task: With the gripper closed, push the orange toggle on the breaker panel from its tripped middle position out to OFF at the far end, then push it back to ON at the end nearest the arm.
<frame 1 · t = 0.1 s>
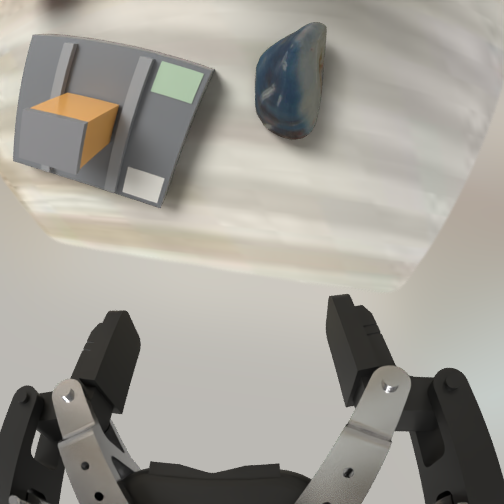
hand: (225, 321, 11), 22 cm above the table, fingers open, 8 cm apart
seashell: (293, 81, 25), on the table
breaker toggle: (69, 127, 20), point 7 cm above the table, slide at 0.0 cm
breaker panel: (101, 109, 25), on the table
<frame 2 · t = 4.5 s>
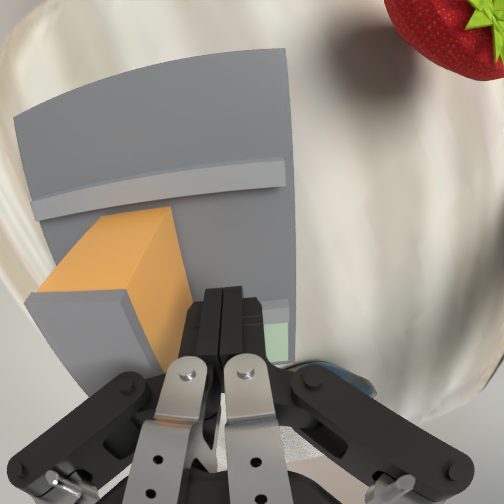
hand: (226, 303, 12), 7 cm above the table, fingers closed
seashell: (305, 377, 27), on the table
breaker toggle: (127, 304, 12), point 7 cm above the table, slide at 0.6 cm, touching gripper
breaker panel: (169, 232, 18), on the table
strawberry: (403, 30, 12), on the table
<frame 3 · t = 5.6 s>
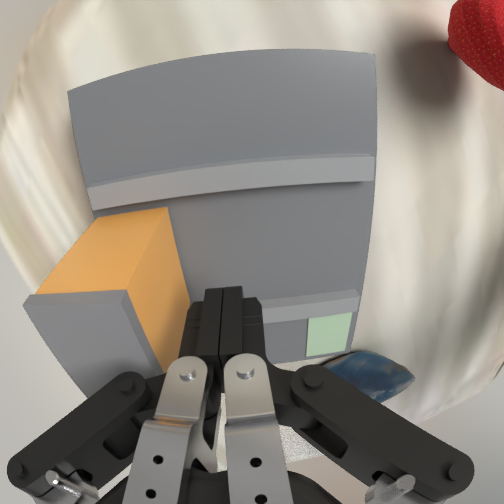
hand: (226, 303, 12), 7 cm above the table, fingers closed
seashell: (344, 368, 27), on the table
breaker toggle: (126, 305, 12), point 7 cm above the table, slide at 5.1 cm, touching gripper
breaker panel: (236, 225, 18), on the table
strawberry: (450, 45, 12), on the table
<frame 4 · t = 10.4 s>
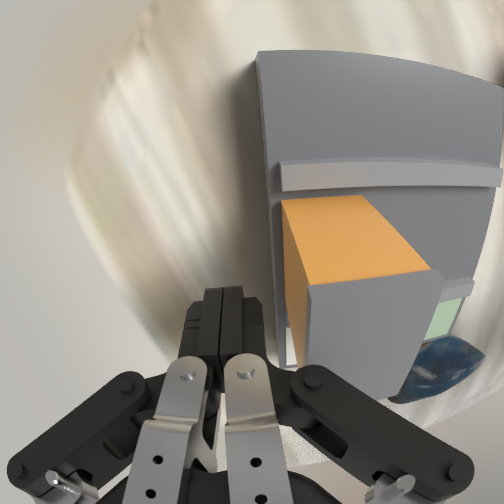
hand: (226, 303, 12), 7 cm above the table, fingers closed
seashell: (423, 354, 26), on the table
breaker toggle: (340, 295, 12), point 7 cm above the table, slide at 5.0 cm, touching gripper
breaker panel: (382, 218, 18), on the table
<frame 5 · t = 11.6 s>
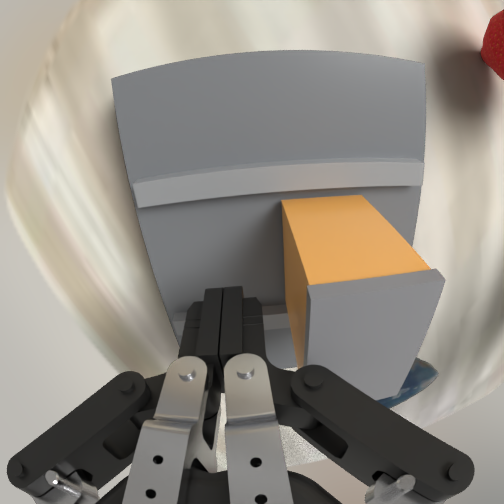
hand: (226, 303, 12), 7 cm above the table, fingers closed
seashell: (368, 367, 26), on the table
breaker toggle: (340, 295, 12), point 7 cm above the table, slide at -1.7 cm, touching gripper
breaker panel: (282, 226, 18), on the table
strawberry: (482, 55, 12), on the table
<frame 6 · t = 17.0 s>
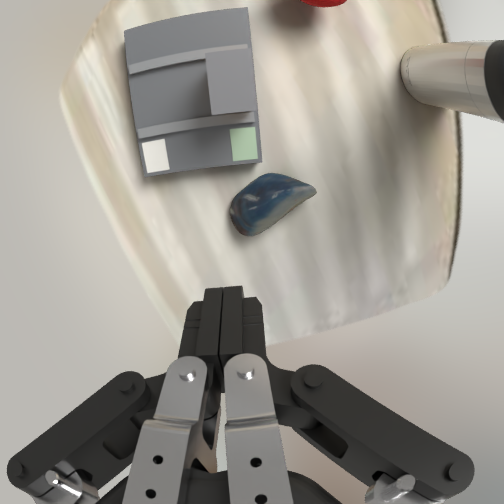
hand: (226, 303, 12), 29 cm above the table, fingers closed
seashell: (268, 199, 41), on the table
breaker toggle: (232, 82, 26), point 7 cm above the table, slide at -5.0 cm
breaker panel: (194, 90, 32), on the table
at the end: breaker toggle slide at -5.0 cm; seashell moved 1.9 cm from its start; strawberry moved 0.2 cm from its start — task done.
